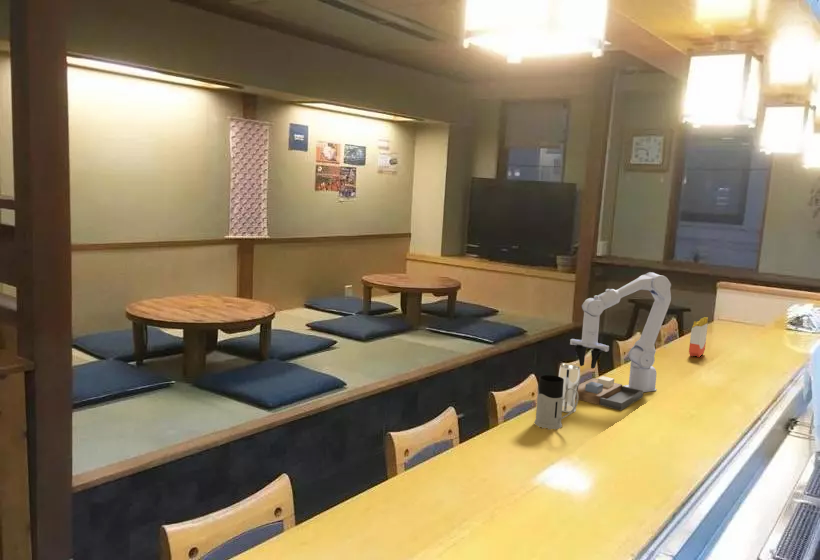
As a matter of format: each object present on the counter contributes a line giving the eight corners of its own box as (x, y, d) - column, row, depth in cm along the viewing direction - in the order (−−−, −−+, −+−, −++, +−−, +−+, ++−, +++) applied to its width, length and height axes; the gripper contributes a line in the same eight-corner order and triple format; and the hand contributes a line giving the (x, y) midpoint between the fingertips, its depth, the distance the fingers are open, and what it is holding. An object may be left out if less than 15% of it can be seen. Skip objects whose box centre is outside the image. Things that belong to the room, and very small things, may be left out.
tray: (599, 404, 238) (600, 398, 237) (622, 392, 253) (622, 386, 253) (621, 410, 233) (621, 403, 233) (642, 397, 248) (643, 390, 248)
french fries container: (687, 356, 312) (691, 318, 310) (694, 352, 321) (698, 314, 318) (697, 358, 310) (702, 319, 307) (704, 354, 318) (708, 316, 316)
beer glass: (577, 414, 227) (581, 370, 225) (556, 412, 228) (559, 368, 226) (576, 407, 234) (580, 365, 232) (555, 405, 235) (559, 363, 233)
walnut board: (568, 397, 245) (569, 389, 245) (592, 385, 260) (593, 377, 260) (599, 404, 238) (599, 396, 237) (621, 392, 253) (622, 384, 253)
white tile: (597, 385, 251) (597, 378, 251) (602, 382, 254) (602, 376, 254) (608, 387, 248) (609, 381, 248) (613, 385, 252) (614, 378, 251)
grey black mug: (544, 417, 222) (547, 372, 220) (582, 430, 212) (586, 383, 210) (528, 423, 216) (531, 377, 214) (567, 436, 206) (571, 388, 204)
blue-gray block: (585, 390, 243) (585, 384, 243) (590, 388, 247) (591, 381, 246) (597, 393, 240) (597, 386, 240) (602, 391, 244) (603, 384, 244)
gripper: (567, 329, 254) (564, 364, 256) (604, 336, 246) (601, 372, 248) (575, 326, 260) (573, 361, 262) (612, 333, 251) (609, 369, 253)
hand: (587, 366), depth 255 cm, fingers open, 4 cm apart
